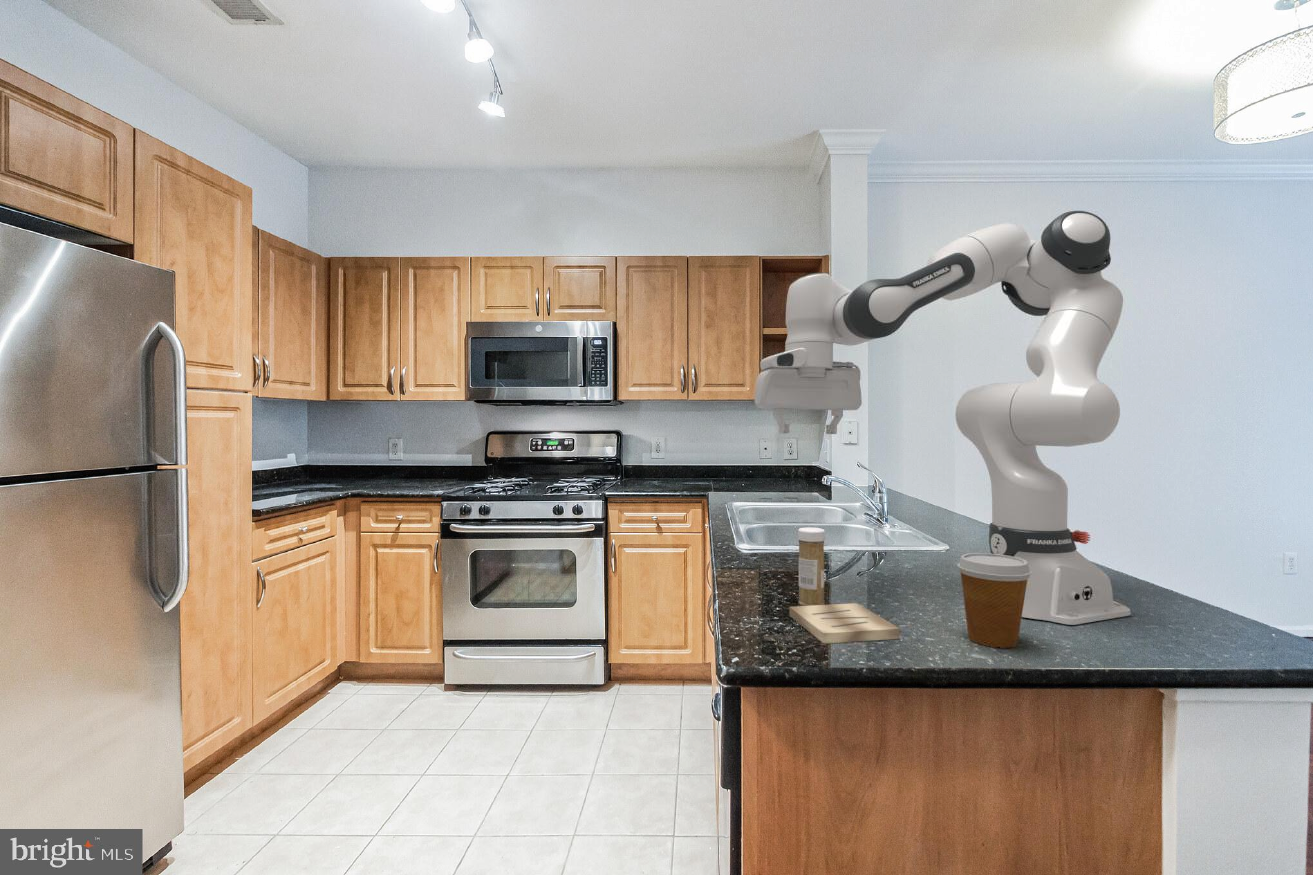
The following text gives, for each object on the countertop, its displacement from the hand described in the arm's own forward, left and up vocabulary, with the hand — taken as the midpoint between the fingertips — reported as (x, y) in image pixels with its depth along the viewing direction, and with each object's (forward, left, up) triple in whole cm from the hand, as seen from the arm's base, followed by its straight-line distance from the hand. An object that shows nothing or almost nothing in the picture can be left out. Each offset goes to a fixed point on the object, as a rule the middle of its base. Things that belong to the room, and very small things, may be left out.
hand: (807, 433), depth 116 cm
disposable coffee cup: (-16, +30, -30) cm, 45 cm away
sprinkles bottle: (+3, +9, -30) cm, 32 cm away
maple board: (+3, +20, -30) cm, 36 cm away
